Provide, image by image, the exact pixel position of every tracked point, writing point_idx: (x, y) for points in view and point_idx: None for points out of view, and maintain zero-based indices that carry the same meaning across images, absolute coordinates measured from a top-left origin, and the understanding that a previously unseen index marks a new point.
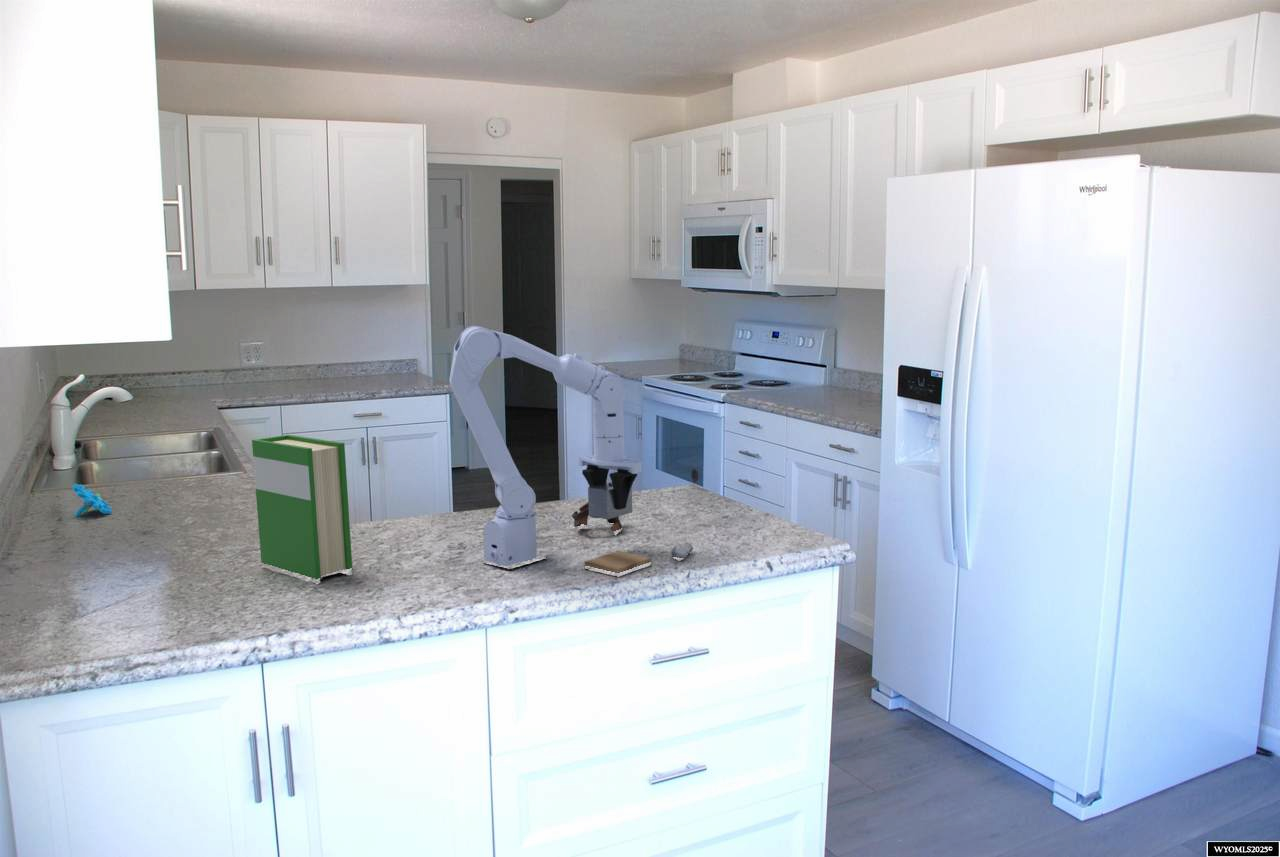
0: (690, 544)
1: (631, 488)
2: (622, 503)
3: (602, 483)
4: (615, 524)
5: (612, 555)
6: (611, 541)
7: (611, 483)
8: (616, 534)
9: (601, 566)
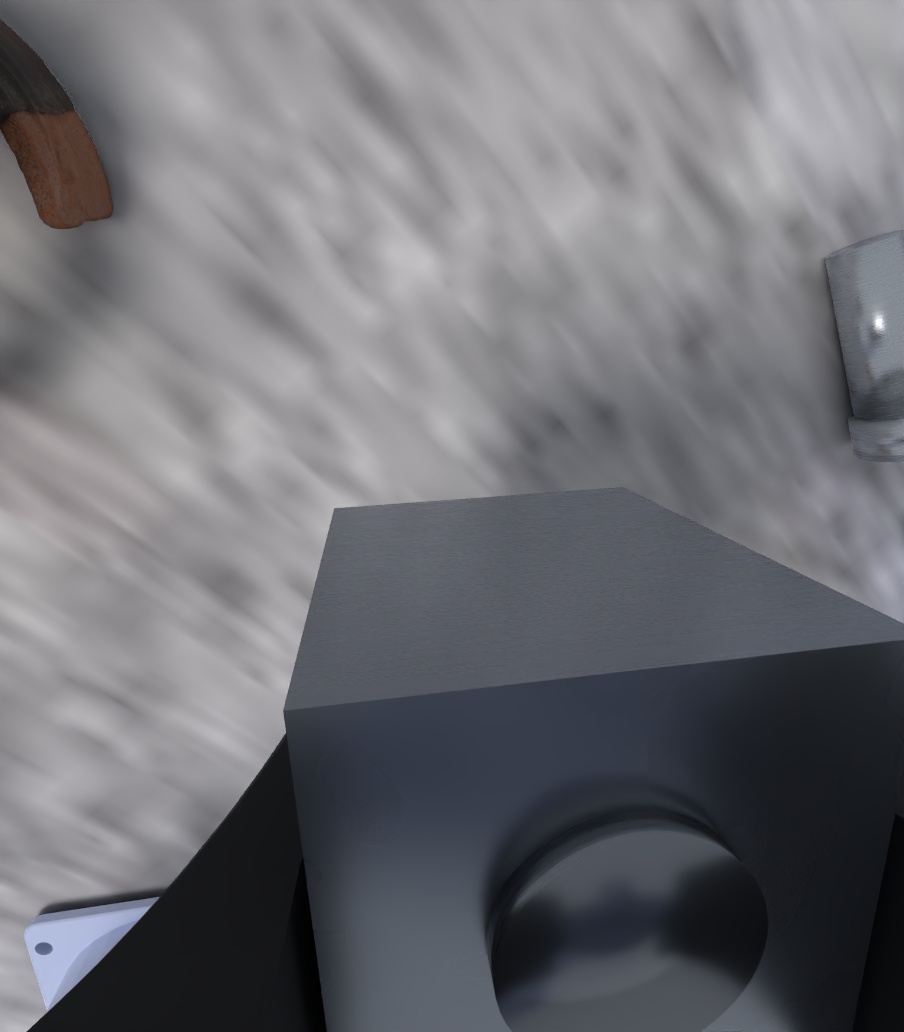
0: (901, 233)
1: (840, 604)
2: None
3: (299, 1027)
4: (37, 158)
5: None
6: (226, 362)
7: (603, 1014)
8: None
9: None
